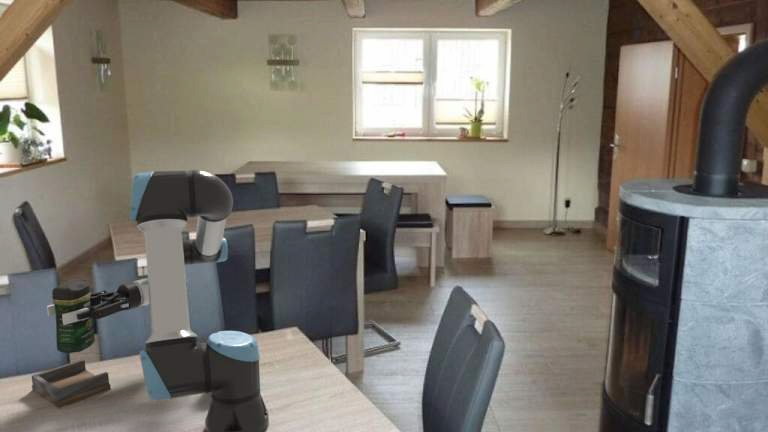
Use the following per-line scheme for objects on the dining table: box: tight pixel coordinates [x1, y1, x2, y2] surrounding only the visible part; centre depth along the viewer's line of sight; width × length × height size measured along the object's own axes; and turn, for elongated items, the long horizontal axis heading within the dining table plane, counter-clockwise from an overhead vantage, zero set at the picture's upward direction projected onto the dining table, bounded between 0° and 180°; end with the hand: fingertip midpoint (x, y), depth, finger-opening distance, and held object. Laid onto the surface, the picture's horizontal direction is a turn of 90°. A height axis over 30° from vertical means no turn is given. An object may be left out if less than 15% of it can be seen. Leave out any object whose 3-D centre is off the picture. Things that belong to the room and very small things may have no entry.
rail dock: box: [31, 358, 112, 409], centre depth 176 cm, size 16×14×4 cm
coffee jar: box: [52, 278, 96, 354], centre depth 174 cm, size 10×8×19 cm
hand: (55, 315), depth 170 cm, fingers closed on coffee jar, 9 cm apart
